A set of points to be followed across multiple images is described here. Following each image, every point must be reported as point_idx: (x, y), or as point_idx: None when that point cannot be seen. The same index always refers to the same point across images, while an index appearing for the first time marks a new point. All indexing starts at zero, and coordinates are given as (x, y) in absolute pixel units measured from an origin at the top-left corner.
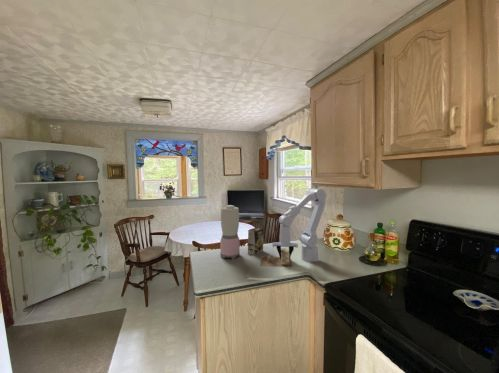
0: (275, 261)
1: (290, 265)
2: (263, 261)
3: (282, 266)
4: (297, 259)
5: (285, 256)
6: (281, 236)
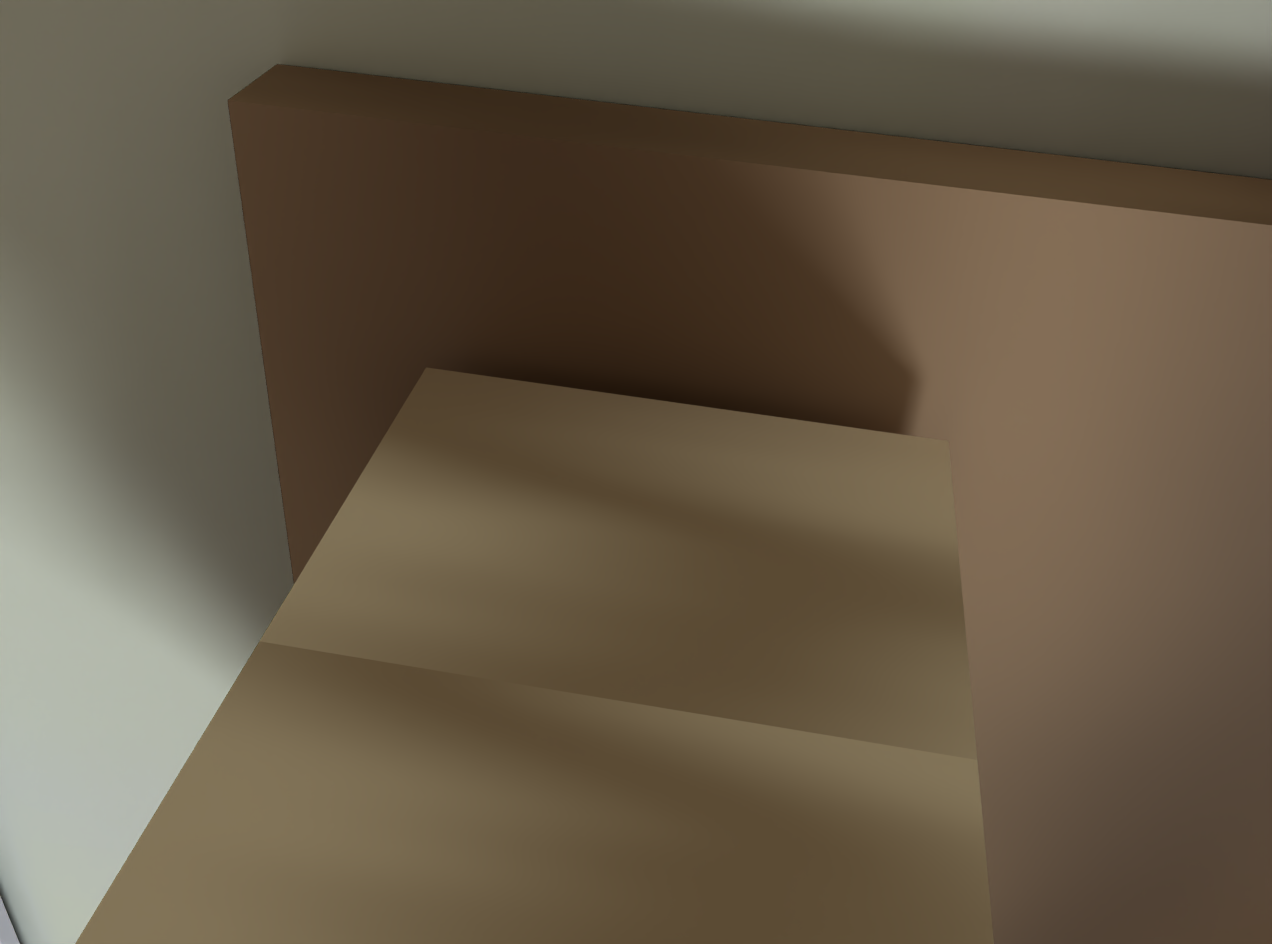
0: (1154, 808)
1: (360, 330)
2: None
3: (905, 203)
4: None
5: (550, 851)
6: None
